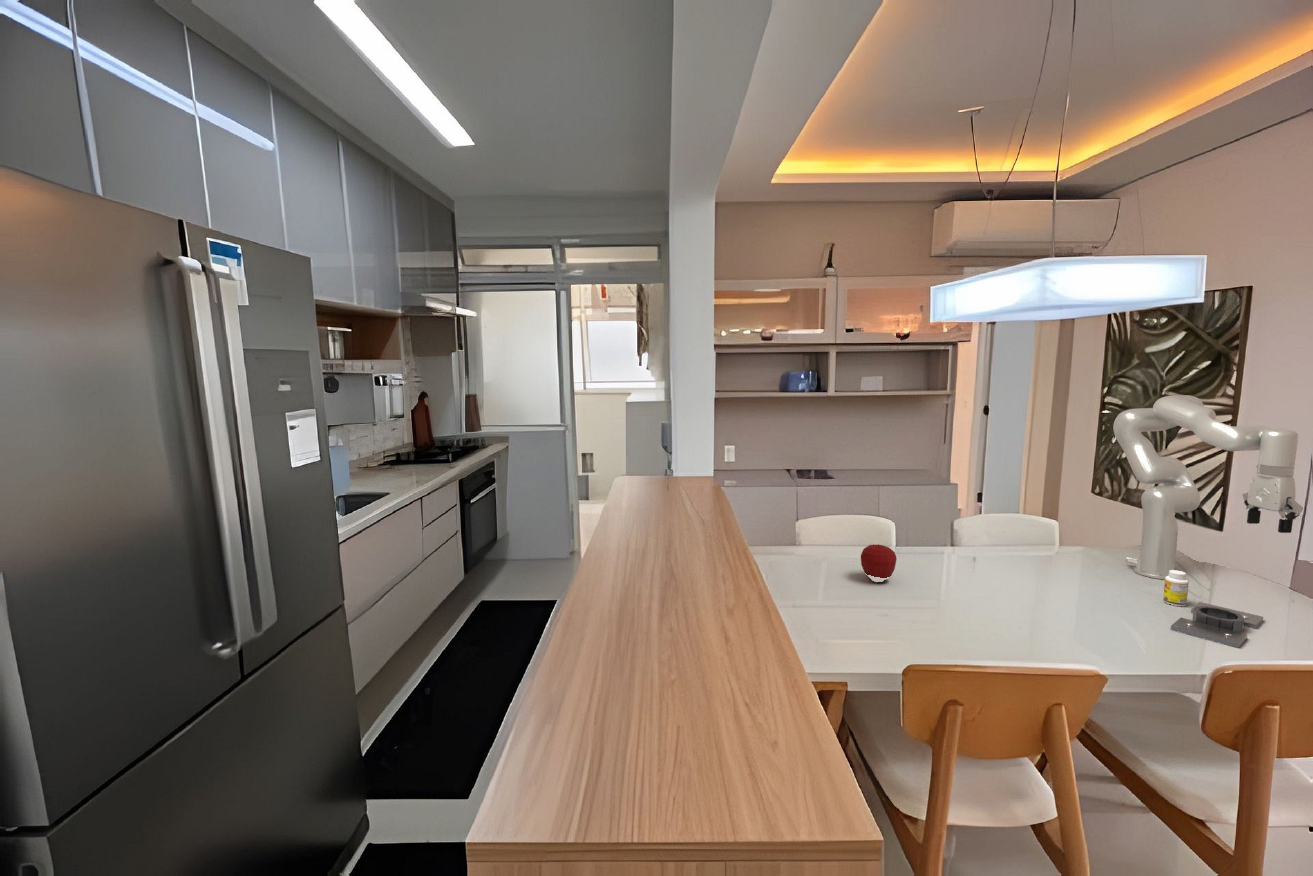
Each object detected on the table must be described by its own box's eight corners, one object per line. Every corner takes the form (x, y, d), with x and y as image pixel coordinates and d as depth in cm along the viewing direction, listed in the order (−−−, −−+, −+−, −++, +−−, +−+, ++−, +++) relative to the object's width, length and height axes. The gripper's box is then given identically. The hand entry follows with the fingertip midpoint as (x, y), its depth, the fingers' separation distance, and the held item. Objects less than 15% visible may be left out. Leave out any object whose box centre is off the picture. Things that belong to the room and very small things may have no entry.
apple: (901, 586, 204) (902, 548, 203) (866, 587, 205) (867, 549, 203) (888, 574, 216) (889, 538, 215) (855, 574, 217) (856, 538, 215)
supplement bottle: (1164, 598, 191) (1167, 567, 190) (1187, 603, 187) (1190, 572, 186) (1161, 603, 187) (1164, 572, 186) (1185, 608, 183) (1188, 576, 182)
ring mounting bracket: (1238, 648, 158) (1239, 635, 157) (1170, 629, 169) (1171, 617, 169) (1262, 620, 174) (1264, 609, 173) (1199, 605, 185) (1200, 594, 185)
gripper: (1235, 466, 185) (1229, 520, 187) (1291, 477, 168) (1283, 536, 170) (1260, 466, 185) (1254, 520, 187) (1319, 476, 168) (1311, 536, 170)
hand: (1268, 527), depth 179 cm, fingers open, 9 cm apart
